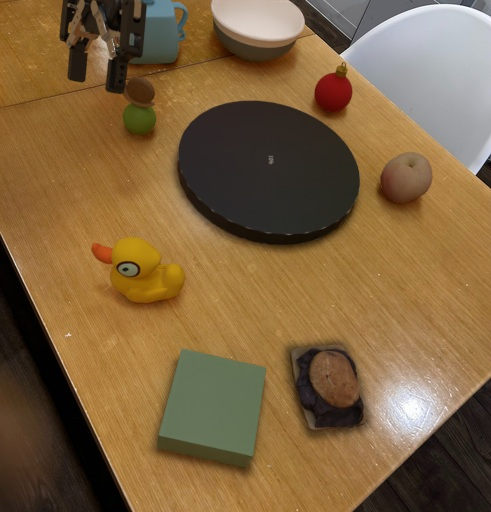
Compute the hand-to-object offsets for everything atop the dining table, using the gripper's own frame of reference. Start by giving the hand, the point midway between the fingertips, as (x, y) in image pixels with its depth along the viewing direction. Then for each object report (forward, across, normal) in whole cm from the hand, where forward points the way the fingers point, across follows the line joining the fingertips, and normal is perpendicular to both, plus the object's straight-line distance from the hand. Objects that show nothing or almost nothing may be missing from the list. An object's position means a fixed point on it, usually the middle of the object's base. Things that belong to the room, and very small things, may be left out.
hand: (94, 87), depth 62 cm
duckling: (+24, +11, +3) cm, 27 cm away
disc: (+9, +7, +29) cm, 32 cm away
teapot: (-6, -28, +27) cm, 39 cm away
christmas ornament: (-2, +3, +49) cm, 49 cm away
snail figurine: (+7, -12, +16) cm, 22 cm away
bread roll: (+29, +34, +14) cm, 47 cm away
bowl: (-10, -17, +47) cm, 51 cm away
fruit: (+9, +23, +45) cm, 51 cm away
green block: (+32, +28, +2) cm, 42 cm away
